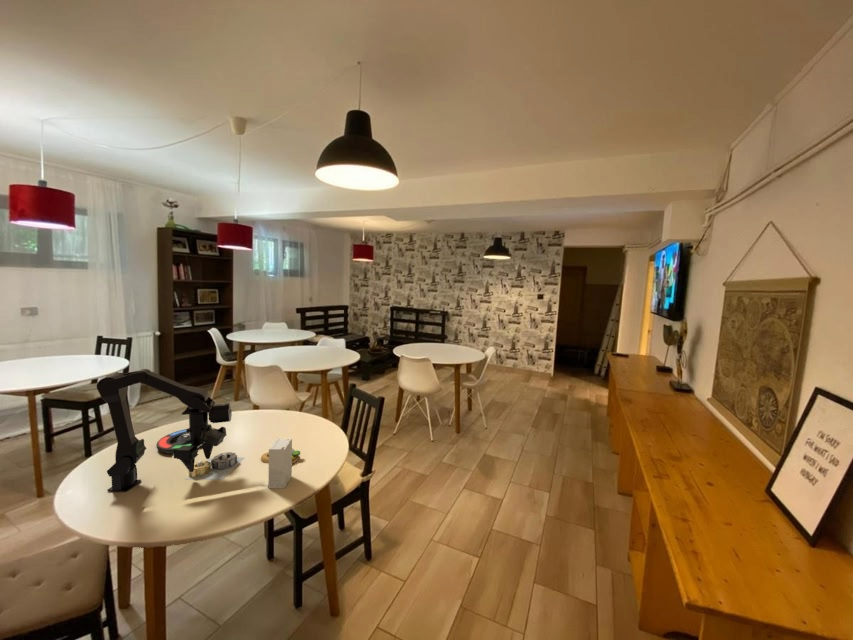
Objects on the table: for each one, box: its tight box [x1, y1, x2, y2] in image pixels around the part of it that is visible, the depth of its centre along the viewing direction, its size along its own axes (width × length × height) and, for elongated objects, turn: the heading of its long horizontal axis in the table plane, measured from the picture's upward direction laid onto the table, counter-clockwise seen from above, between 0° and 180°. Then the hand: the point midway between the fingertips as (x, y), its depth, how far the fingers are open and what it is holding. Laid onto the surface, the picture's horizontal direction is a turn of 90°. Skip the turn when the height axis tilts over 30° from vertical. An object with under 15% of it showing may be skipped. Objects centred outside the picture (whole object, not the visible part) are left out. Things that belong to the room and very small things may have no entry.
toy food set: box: [260, 447, 301, 465], centre depth 138 cm, size 13×13×3 cm
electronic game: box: [155, 427, 216, 454], centre depth 150 cm, size 23×23×5 cm
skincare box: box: [267, 438, 293, 489], centre depth 121 cm, size 8×6×15 cm
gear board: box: [185, 454, 245, 481], centre depth 128 cm, size 16×13×5 cm
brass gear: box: [187, 460, 211, 477], centre depth 125 cm, size 7×7×3 cm
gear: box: [210, 451, 238, 470], centre depth 131 cm, size 9×9×3 cm
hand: (200, 465), depth 125 cm, fingers open, 9 cm apart
